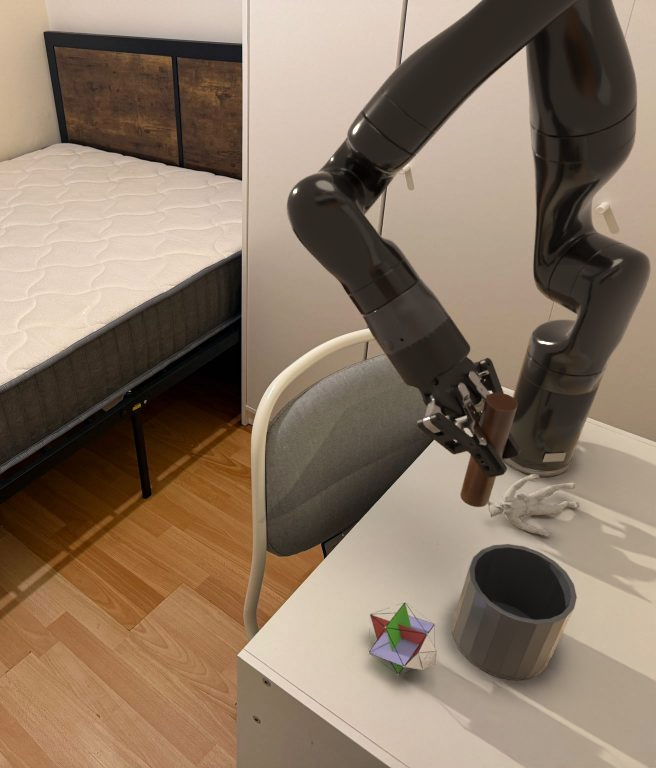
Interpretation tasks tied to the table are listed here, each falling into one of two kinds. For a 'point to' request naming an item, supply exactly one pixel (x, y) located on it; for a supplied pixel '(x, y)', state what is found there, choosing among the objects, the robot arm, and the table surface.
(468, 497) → the cylinder
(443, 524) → the table surface
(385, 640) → the geometric puzzle
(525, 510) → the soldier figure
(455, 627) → the tin
